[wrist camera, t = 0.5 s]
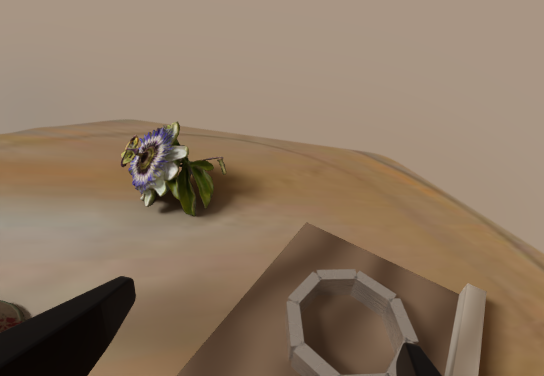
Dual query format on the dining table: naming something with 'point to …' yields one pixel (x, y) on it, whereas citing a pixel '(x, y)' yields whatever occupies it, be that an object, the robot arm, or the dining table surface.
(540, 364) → the dining table surface
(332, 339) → the board with raised edge
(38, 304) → the dining table surface
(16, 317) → the candlestick holder
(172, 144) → the passion flower
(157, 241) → the dining table surface
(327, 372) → the socket ring
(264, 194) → the dining table surface
